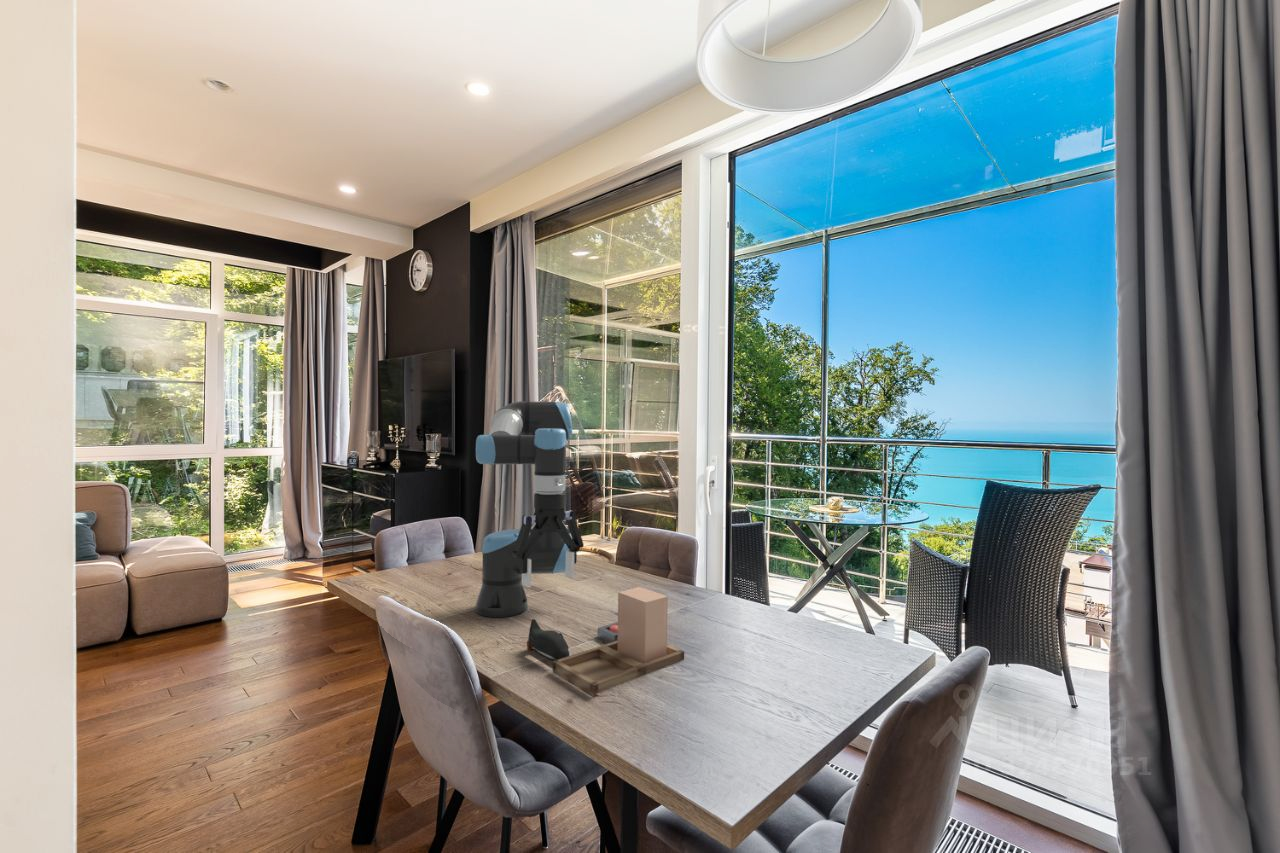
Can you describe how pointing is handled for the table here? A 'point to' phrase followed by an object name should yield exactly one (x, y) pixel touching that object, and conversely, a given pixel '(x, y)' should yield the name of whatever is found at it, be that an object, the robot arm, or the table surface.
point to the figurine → (547, 642)
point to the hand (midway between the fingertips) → (548, 581)
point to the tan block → (642, 624)
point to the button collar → (607, 633)
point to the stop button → (614, 628)
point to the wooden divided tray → (608, 667)
